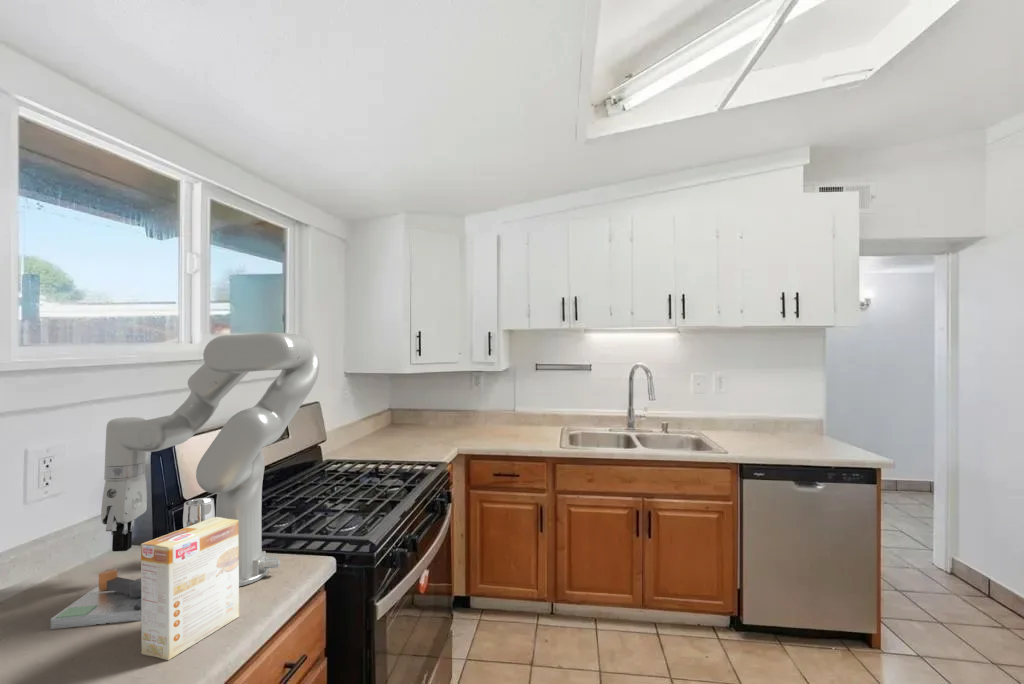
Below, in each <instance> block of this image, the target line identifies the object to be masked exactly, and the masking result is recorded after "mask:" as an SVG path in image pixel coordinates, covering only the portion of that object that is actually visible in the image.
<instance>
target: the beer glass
mask: <svg viewBox="0 0 1024 684" xmlns="http://www.w3.org/2000/svg"><path fill="white" fill-rule="evenodd" d="M213 517H216V507H215V499H214V498H213V497H200V498H194V499H189V500H187V501H185V502H184V503H183V514H182V525H183V526H182V527H183V528H186V527H189V526H191V525H194V524H197V523H199V522H202V521H204V520H207V519H210V518H213ZM183 528H182V529H183Z"/></svg>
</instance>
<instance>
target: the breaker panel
mask: <svg viewBox="0 0 1024 684" xmlns="http://www.w3.org/2000/svg"><path fill="white" fill-rule="evenodd" d="M140 601H141V596H139V597H130V594H127V593H123V592H118V591H113V590H108V589H106V590H99V585H96V586H95V587H93V589H90V590H89V591H87V592H86V593H85V594H84V595H82V596H81V597H80V598H78V599H76V600H75V601H74V602H72V603H71V604H70V605H68V606H67V607H65V608H64V609H63V610H61V611H59V612H58V613H57V614H56V615H54V616H53V617H51V618H50V630H58V629H59V630H60V629H68V628H78V627H88V626H89V627H90V626H97V625H96V624H100V625H107V624H106V623H110V624H117V623H119V624H120V623H127V622H137V621H140V622H141V609H140V610H138V611H136V610H134V606H135V605H136V604H137V603H138V602H140Z"/></svg>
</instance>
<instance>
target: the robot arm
mask: <svg viewBox="0 0 1024 684" xmlns="http://www.w3.org/2000/svg"><path fill="white" fill-rule="evenodd" d="M202 355H203V356H202V357H203V360H204V363H203V364H202V365H201V366H200V367H199V368H198V369H196V371H195V372H194V373H193V374H191V375H190V376H189V378H188V379H187V386H188V389H189V390H190V393H189V395H188V398H186V400H185V401H184V402H183V403H182V404H181V405H180V406H179V407H177V409H175V411H174V412H172V414H169V415H165V416H160V417H156V418H151V419H144V418H142V417H139V416H135V417H134V416H129V417H127V416H126V417H117V418H114V419H111V420H109V421H108V422H107V424H106V428H105V429H106V430H105V451H104V453H105V455H104V472H103V473H104V477H103V479H104V481H105V482H104V486H103V491H102V492H103V493H102V499H101V509H100V510H101V511H100V518H101V523H102V524H103V525H105V532H111V535H112V546H111V548H112V549H111V550H112V552H127V551H129V549H131V548H132V547H133V546H132V543H133V531H134V527H135V521H136V519H137V518H139V517H140V516H142V515H143V514H145V513H146V511H147V510H148V509H147V507H148V501H147V500H148V496H147V495H148V492H147V479H146V456H147V455H146V453H148V452H149V453H153V452H154V453H155V452H159V451H163V450H165V449H168V448H171V447H174V446H178V445H181V444H184V443H186V442H187V441H188V440H190V439H191V438H192V437H193V436H194V435H195V434H196V433H198V431H200V429H201V428H203V427H204V425H206V423H207V422H209V420H210V419H211V417H212V416H213V415H214V414H215V412H216V410H217V409H218V407H219V403H220V402H221V401H222V399H223V398H225V397H226V395H228V394H229V392H230V391H231V390H232V389H233V388H235V386H236V385H237V384H238V383H239V382H240V381H241V380H242V379H243V378H244V377H246V375H248V373H250V372H263V371H264V372H265V371H281V372H280V373H279V375H278V376H277V377H276V378H275V379H274V380H273V381H272V383H271V384H270V385H269V386H268V388H267V389H266V390H265V392H264V394H263V396H261V398H260V400H258V402H257V403H256V404H255V405H254V406H252V407H249V408H245V409H243V410H242V409H241V410H240V411H238V412H236V413H235V414H234V415H232V416H231V417H230V418H229V419H228V420H227V421H226V423H225V424H224V425H223V426H222V428H221V429H220V430H219V432H218V434H217V435H216V437H215V438H214V439H213V441H212V442H211V444H210V445H209V446H208V448H207V450H206V451H205V452H204V454H203V455H202V457H201V458H200V460H199V462H198V464H197V467H196V471H195V477H196V479H195V480H196V483H197V484H198V486H199V487H200V488H201V489H202V490H203V491H205V492H206V493H210V494H216V503H215V517H222V518H226V519H234V520H239V521H238V546H239V587H243V586H247V585H250V584H252V583H256V582H257V581H259V580H261V579H263V578H264V577H266V575H268V573H269V572H270V571H269V570H270V569H276V568H280V566H281V559H280V558H278V556H267V555H266V550H263V549H262V547H263V546H262V545H263V544H262V542H263V541H262V540H263V539H262V538H263V537H262V532H263V531H262V527H263V526H262V509H263V508H262V505H263V502H262V500H263V497H262V495H263V480H264V474H265V467H266V462H265V460H266V459H265V455H264V452H263V451H262V449H264V448H265V447H267V446H269V445H271V444H274V443H275V442H277V441H278V440H279V439H280V438H281V436H282V435H283V434H284V432H285V431H286V429H287V427H288V425H289V424H290V422H292V420H293V418H294V417H295V416H296V414H297V412H298V411H299V410H300V408H301V407H302V405H303V403H304V402H305V400H306V398H307V397H308V395H309V394H310V393H311V391H312V389H313V387H314V386H315V384H316V382H317V380H318V376H319V373H320V359H319V355H318V353H317V350H316V349H315V347H314V345H313V344H312V343H311V341H309V340H308V339H307V338H305V337H303V336H302V335H299V334H293V333H285V332H264V333H260V332H259V333H247V334H230V335H229V334H225V335H220V336H216V337H214V338H213V339H211V340H210V341H209V342H208V343H207V344H206V346H205V348H204V349H203V353H202Z"/></svg>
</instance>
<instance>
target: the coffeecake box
mask: <svg viewBox="0 0 1024 684" xmlns="http://www.w3.org/2000/svg"><path fill="white" fill-rule="evenodd" d="M238 521H239V520H234V519H226V518H222V517H216V516H215V517H213V518H210V519H207V520H204V521H202V522H199V523H197V524H194V525H191V526H189V527H186V528H181V529H179V530H175V531H172V532H169V533H168V534H165V535H161V536H159V537H156V538H154V539H151V540H148V541H145V542H143V543H141V544H140V550H141V551H140V556H141V557H140V564H141V565H140V568H141V569H140V571H141V572H140V577H141V620H140V622H141V631H140V632H141V639H140V640H141V654H142V655H144V656H148V657H155V658H158V659H162V660H164V661H171V660H172V658H175V657H176V656H178V655H180V653H182V652H184V651H186V650H188V649H189V648H190V647H193V646H194V645H196V644H197V643H199V642H200V641H202V640H204V639H205V638H207V637H208V636H210V635H212V634H214V633H215V632H217V631H218V630H220V629H221V628H223V627H225V626H226V625H228V624H230V623H231V622H233V621H235V620H236V619H238V618H240V586H239V546H238Z"/></svg>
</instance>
